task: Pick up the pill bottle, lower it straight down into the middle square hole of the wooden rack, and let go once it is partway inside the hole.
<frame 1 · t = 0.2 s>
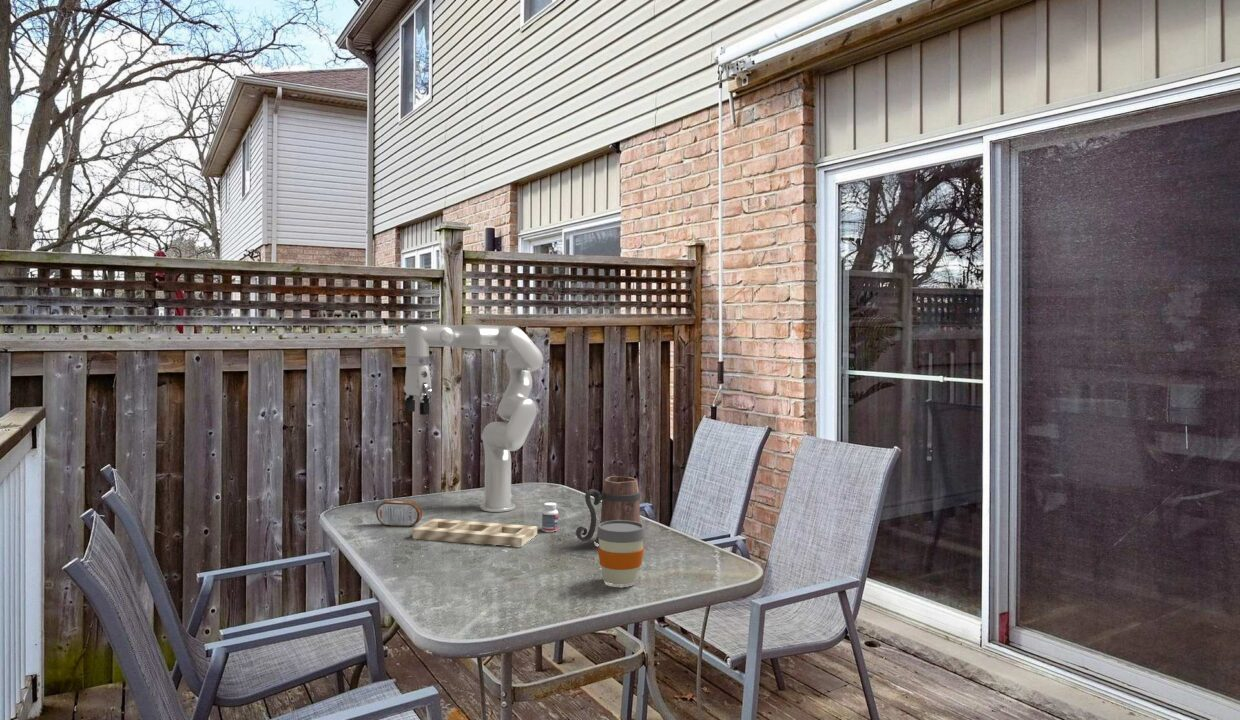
hand: (417, 413, 263), 37 cm above the table, tool pointing down, fingers open, 9 cm apart
tankard: (610, 545, 242), on the table
tin: (398, 526, 260), on the table
reusable coffee cup: (620, 583, 206), on the table
wooden rack: (475, 537, 247), on the table
pill bottle: (550, 531, 257), on the table
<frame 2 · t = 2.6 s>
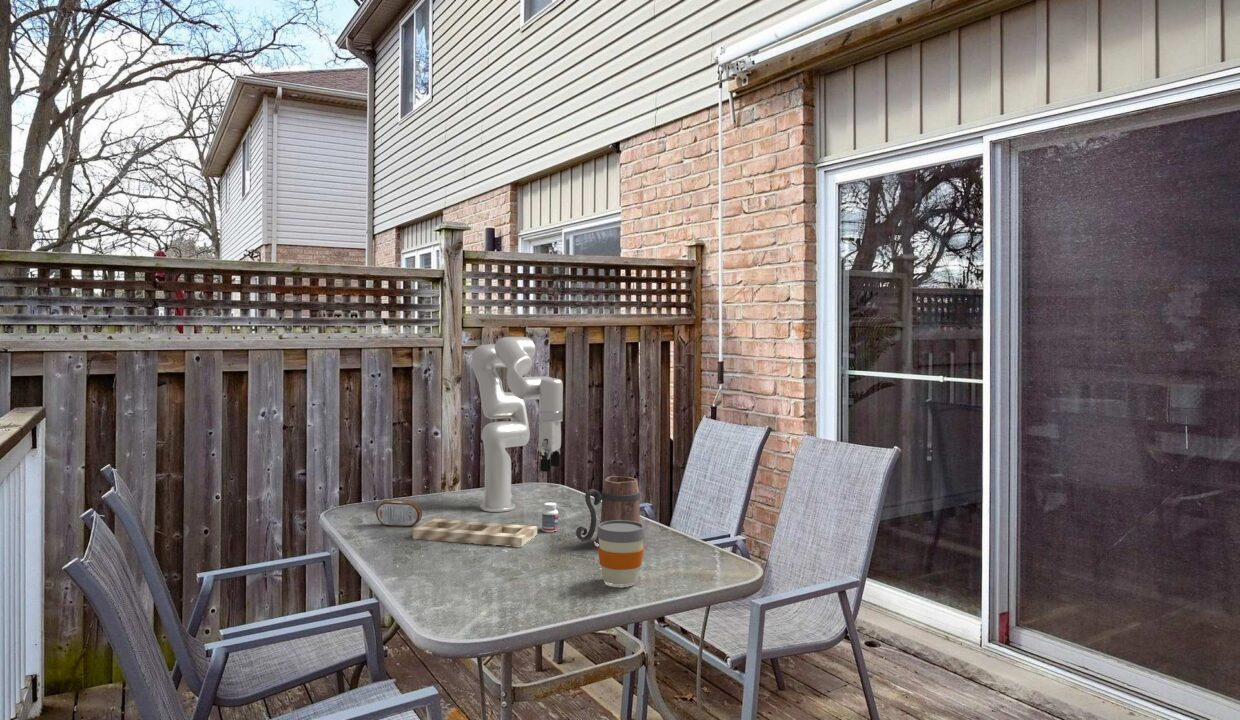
hand: (550, 468, 256), 20 cm above the table, tool pointing down, fingers open, 9 cm apart
nothing on the table moved.
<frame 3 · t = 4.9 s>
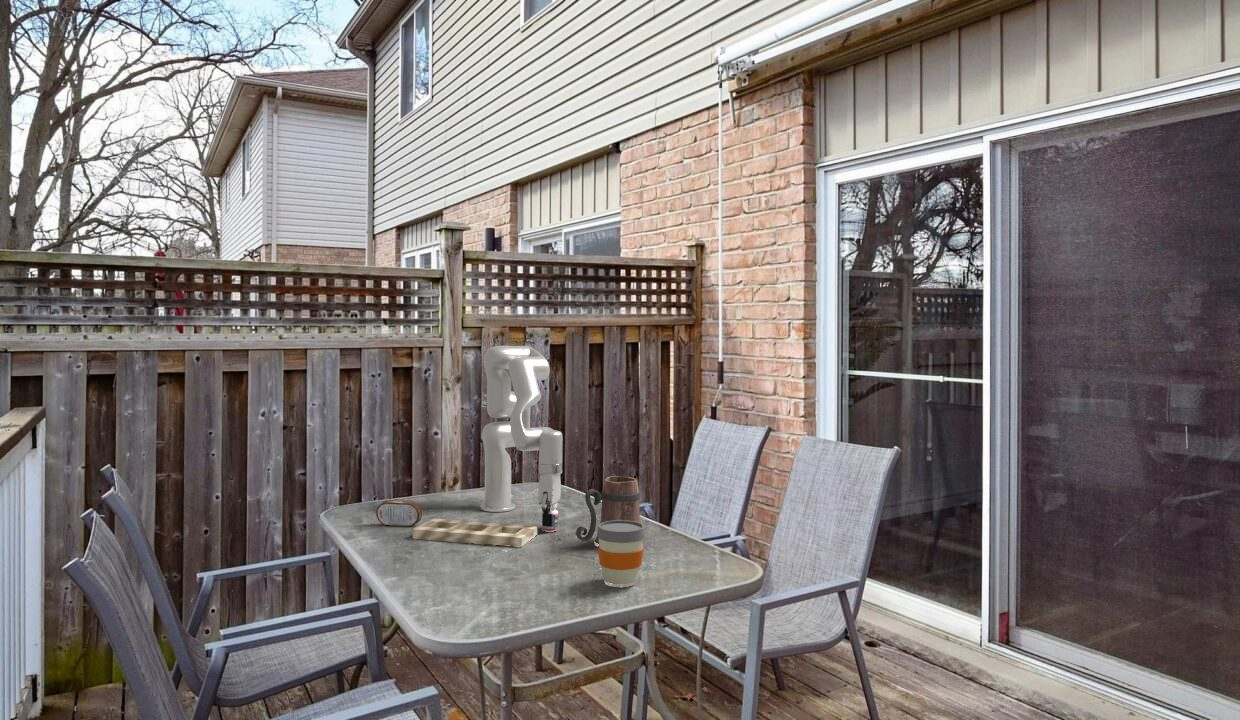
hand: (550, 523, 256), 2 cm above the table, tool pointing down, fingers closed on pill bottle, 5 cm apart
pill bottle: (550, 531, 257), on the table, touching gripper
everything else where it was.
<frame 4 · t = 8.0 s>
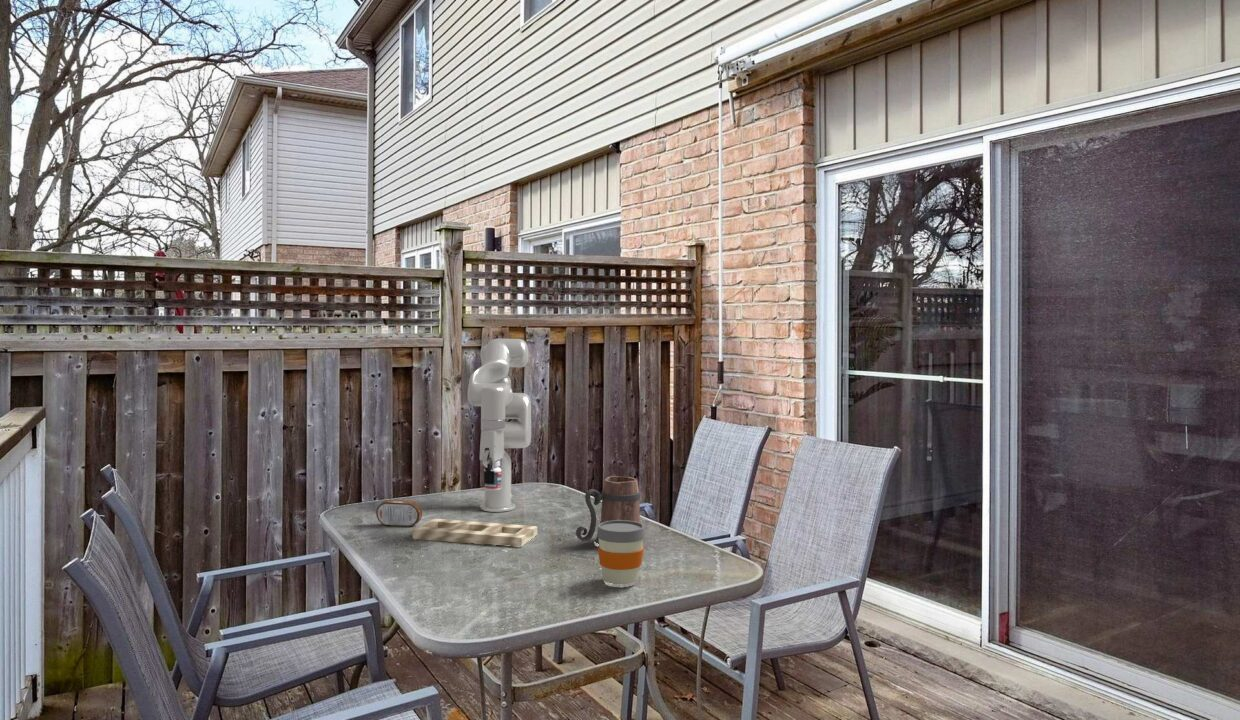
hand: (492, 481, 249), 17 cm above the table, tool pointing down, fingers closed on pill bottle, 5 cm apart
pill bottle: (493, 489, 249), point 15 cm above the table, touching gripper
everything else where it was.
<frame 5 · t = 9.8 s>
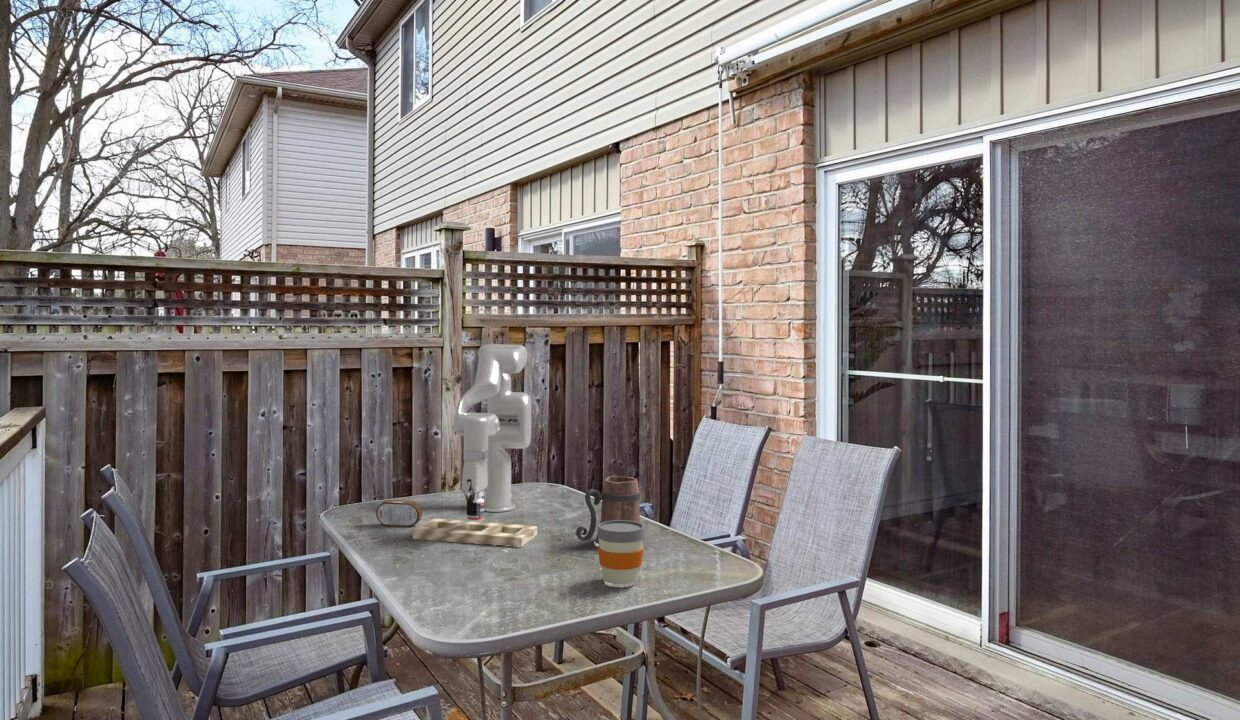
hand: (475, 512, 247), 8 cm above the table, tool pointing down, fingers closed on pill bottle, 5 cm apart
pill bottle: (475, 520, 247), point 5 cm above the table, touching gripper
everything else where it was.
when the fingers open (4 cm above the table, at t = 11.0 s): pill bottle drops 1 cm, resting in wooden rack.
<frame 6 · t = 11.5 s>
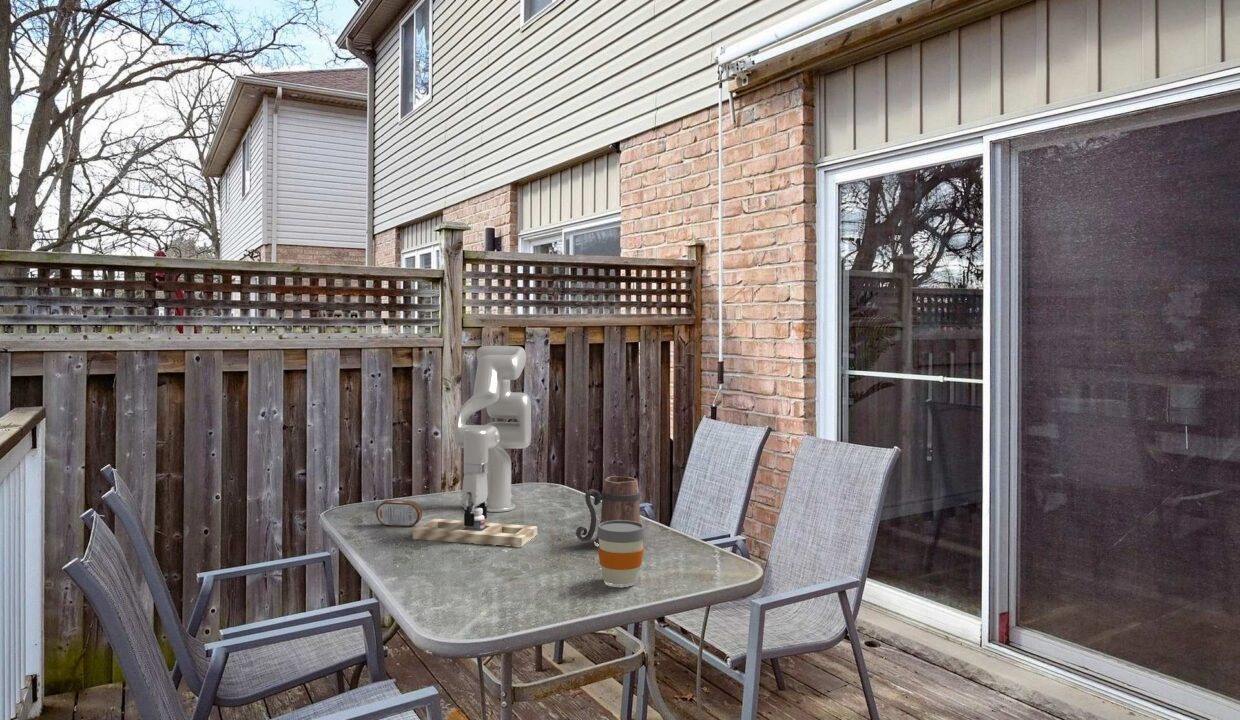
hand: (475, 522, 247), 5 cm above the table, tool pointing down, fingers open, 9 cm apart
pill bottle: (476, 537, 248), resting in wooden rack
everything else where it was.
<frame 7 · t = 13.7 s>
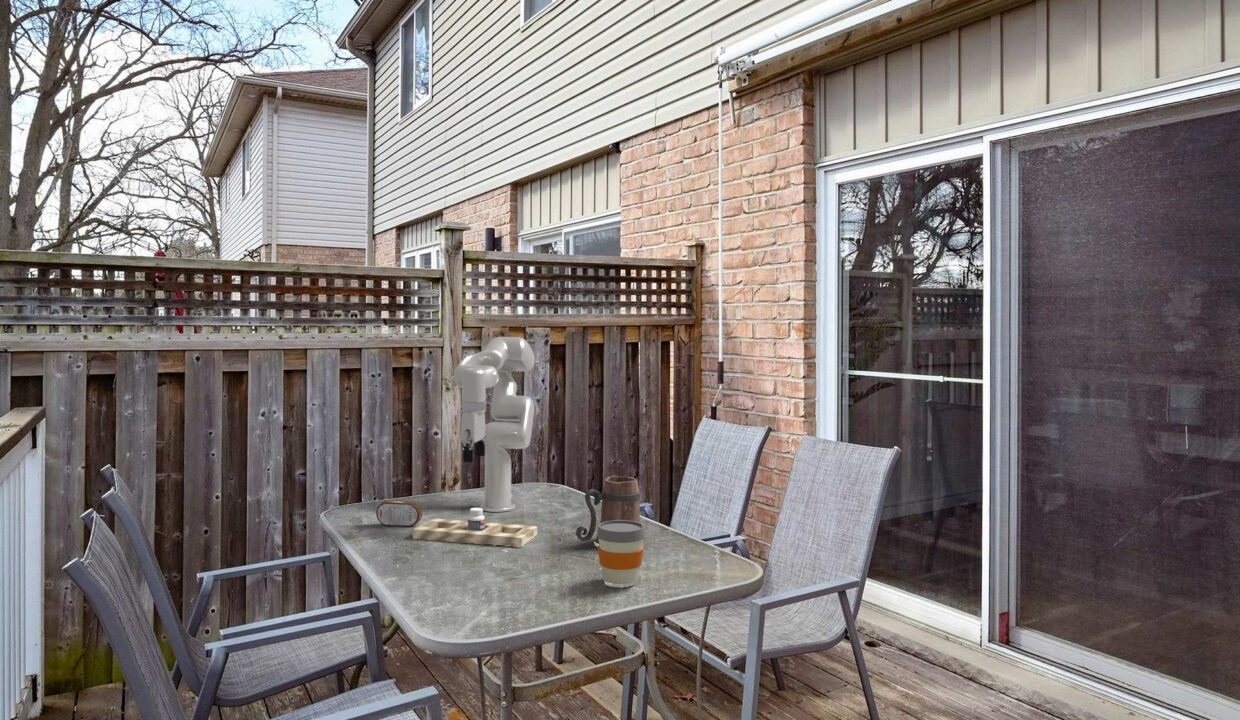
hand: (474, 458, 255), 23 cm above the table, tool pointing down, fingers open, 9 cm apart
nothing on the table moved.
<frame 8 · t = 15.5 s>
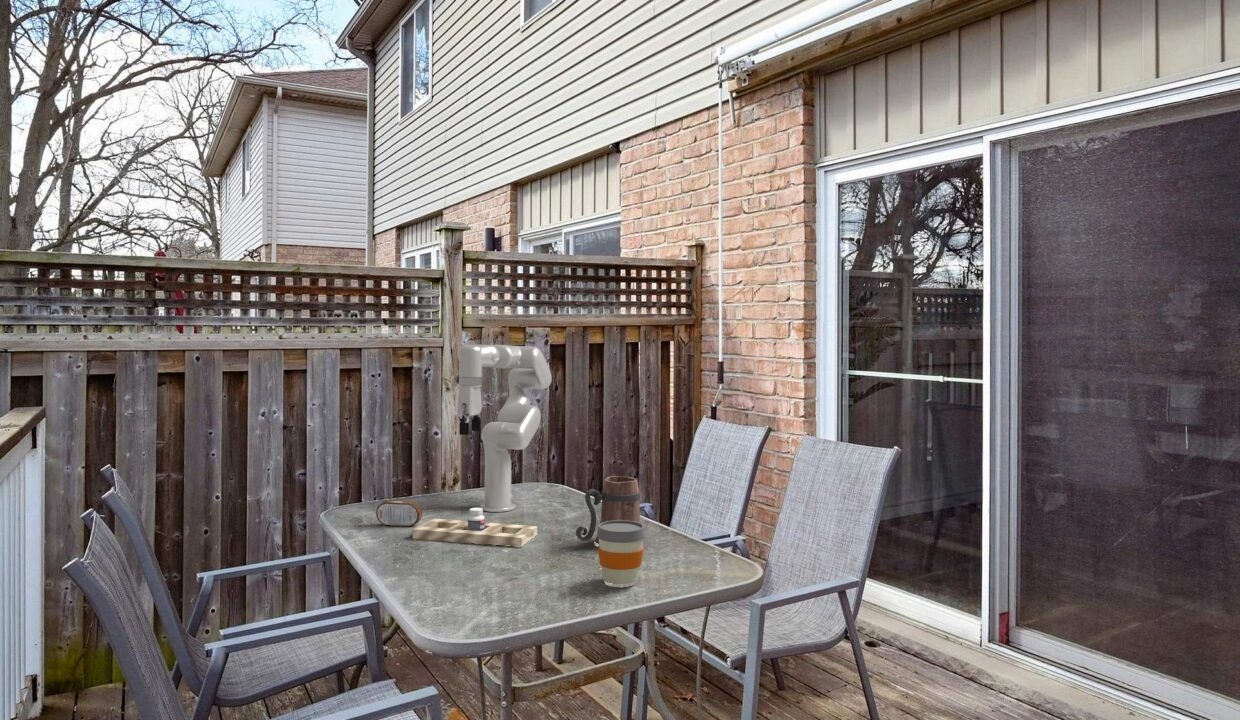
hand: (470, 432, 266), 30 cm above the table, tool pointing down, fingers open, 9 cm apart
nothing on the table moved.
at the end: pill bottle 0.4 cm off-centre on the wooden rack, point 0.0 cm above the wooden rack's base; pill bottle tilted 0°; the gripper is holding nothing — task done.
